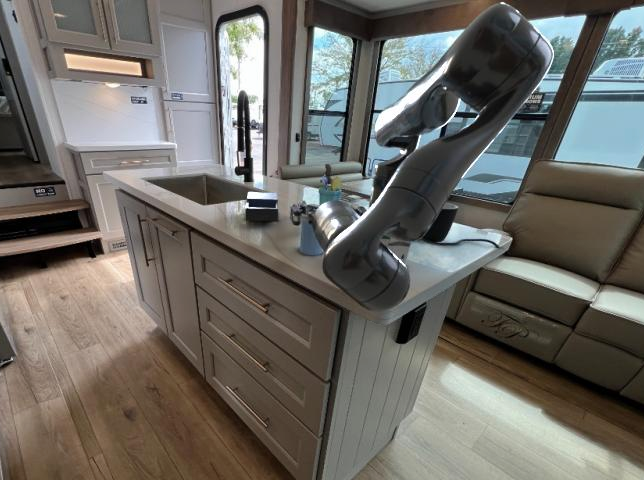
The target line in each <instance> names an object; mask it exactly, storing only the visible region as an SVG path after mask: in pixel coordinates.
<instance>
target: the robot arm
mask: <svg viewBox="0 0 644 480" xmlns="http://www.w3.org/2000/svg"><path fill="white" fill-rule="evenodd" d="M553 60H554V49H553V46H552V45H551V43H550V42H549V40H548V39H546V37H545V36H544V35H543V34H542V33H541V32H540V31H539V30H538V29H537V28H536V27H535V26H534V25H533V24H532V23H531V22H530V21H529V20H528V19H527V18H526V17H525V16H524V15H523V14H521V12H520V11H518V10H517V9H516V8H515V7H514V6H512V5H510V4H508V3H505V2H499V3H498V2H497V3H495V4H493V5H490V6H489V7H487V8H486V9H485V10H483V11H482V12H481V13H480V14H479V15H477V16H476V17H475V18H474V20H472V21H471V22H470V23H469V24H468V25H467V26H466V28H465V29H464V30H463V31H462V32H461V33H460V34H459V36H458V37H457V38H456V39H455V40H454V41H453V42H452V44H450V46H449V47H448V49H447V50H446V51H445V52H444V54H443V55H442V56H441V57H440V58H439V59H438V61H436V63H435V64H434V65H433V66H432V67H431V68H430V69H429V70H428V71H427V72H426V73H424V75H422V76H420V78H419V79H418V80H417V81H415V82H414V83H413V84H412V85H411V86H410V87H409V88H408V89H407V91H405V93H404V94H403V95H401V97H399V98H398V99H397V100H396V101H395V102H393V103H390V104H389V105H387V106H385V107H384V109H382V111H381V112H380V113H379V115H378V117H377V120H376V123H375V127H374V139H375V142H376V144H377V145H378V146H379V147H381V148H385V149H399V152H398V153H397V155H394V157H392V158H390V159H387V160H385V161H381V162H379V163H377V164H376V165H375V168H374V172H373V178H372V185H371V191H370V197H369V202H368V209H367V208H366V207H365V206H363V205H360V206H357V208H356V207H355V205H353V204H350V203H348V202H347V201H342V200H339V201H338V200H332V201H328V202H326V203H324V204H322V205H321V206H319V204H315V203H310V204H307V202H306V200H301V201H300V202H298V203H297V204H295V203H291V204H290V205H289V207H290V212H289V219H290V221H291V224H292V225H293V226H296V227H298V226H300V225H301V223H302V221H306V222H307V223H309V224H310V225H312V228H313V231H314V233H315V236H316V239H317V240H318V242H319V245H320V246H321V248H322V249H323V250H322V251H323V252H324V253H323V256H322V262H321V264H322V266H321V267H322V272H323V275H324V276H325V277H326V279H327V280H328V281H330V282H331V283H332V284H333V285H334V286H336V287H337V288H338V289H339V290H341V292H343V293H344V294H345V295H346V296H348V297H349V298H350V299H352V300H353V301H354V302H355V303H357V305H359V306H361V307H362V308H364V309H365V310H368V311H370V312H375V313H383V312H387V311H391V310H393V309H394V308H396V307H398V306H399V305H401V303H402V302H403V301H404V300H405V299H406V297H407V296H408V293H409V291H410V286H411V275H410V271H409V268H408V267H407V264H406V265H405V264H404V263H403V262H402V261H401V260H400V259H399V258H398V257H397V256H395V254H393V253H392V252H391V251H390V250H389V249H388V248H387V247H386V246H385V245H384V244H383V243H382V242H381V241H380V240H381V237H382V236H383V234H386V235H387V236H389V237H391V238H393V239H396V240H398V241H402V242H411V243H414V242H417V241H419V240H421V241H423V242H425V243H428V244H432V245H437V246H456V245H459V244H460V243H462V242H485V243H489V244H491V245H493V246H494V247H495V248H496V249H500V246H499V244H498V243H496V242H495V241H493V240H490V239H486V238H463V239H462V238H461V239H459V240H457V241H455V242H454V241H453V242H431V241H428V240H426V239H424V238H423V236H424V235H425V234H426V233H427V231H428V230H429V228H430V227H431V225H432V224H433V222H434V220H435V219H436V217H437V216H438V214H439V213H440V211H441V209H442V208H443V206H444V205H445V203H447V202H448V200H449V199H450V197H451V195H452V194H453V192H454V190H455V189H456V187H457V186H458V184H459V183H460V182H461V180H462V179H463V177H464V176H465V175H466V174H467V172H468V171H469V170H470V168H471V167H473V165H474V164H475V162H476V161H477V160H478V159H479V158H480V156H481V155H482V154H483V153H484V152H485V151H486V150H487V149H488V148H489V146H490V145H491V144H492V143H493V142H494V140H495V139H496V138H497V137H498V136H499V134H500V133H502V131H503V130H504V128H505V127H506V126H507V125H508V124H509V122H510V121H511V120H512V119H513V117H514V116H515V115H516V114H517V113H518V112H519V110H520V109H521V108H522V107H523V105H525V103H526V102H527V101H528V100H529V98H530V97H531V96H532V94H533V93H534V92H535V91H536V89H537V88H538V87H539V85H540V84H541V83H542V81H543V79H544V78H545V76H546V75H547V73H548V72H549V70H550V68H551V65H552V63H553ZM460 102H463V103H464V104H465V105H466V106H467V107H468V108H470V110H472V111H473V112H474V113H476V114H477V116H476V118H475V119H474V120H473V121H472V122H471V123H469V124H468V125H466V126H464V127H461V128H460V129H458V130H455V131H453V132H451V133H448V134H446V135H443V136H441V137H438V138H435V139H433V140H430V141H428V142H426V143H424V144H422V145H421V146H420V147H418V146H419V143H420V138H421V136H424V135H429V134H430V133H432V132H434V131H436V130H438V129H441V128H442V127H444V126H445V125H447V123H449V122H450V121H451V119H452V118H454V116H455V114H456V112H457V110H458V108H459V106H460ZM306 210H307V213H306Z"/></svg>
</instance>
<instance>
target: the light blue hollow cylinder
mask: <svg viewBox="0 0 644 480" xmlns="http://www.w3.org/2000/svg"><path fill="white" fill-rule="evenodd" d="M306 213H307V210H306ZM300 225H301V226H300V237H299V239H300V241H299V252H300V253H301V254H303V255H307V256H318V255H322V253H323V251H324V250H323V249H322V248H321V246H320V245H319V242H318V240H317V239H316V236H315V233H314V231H313V228H312V225H310V224H309V223H307V222H306V221H302V223H300Z"/></svg>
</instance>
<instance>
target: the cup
mask: <svg viewBox="0 0 644 480" xmlns="http://www.w3.org/2000/svg"><path fill="white" fill-rule="evenodd" d="M319 182H320V184H321V183H323V182H324V186H321V187H318V194H319V195H318V196H319V197H318V198H319V199H318V201H319V202H318V205H319V206H321V205H322V204H324V203H326V202H328V201H332V200H338V201H340V196H341V195H342V185H343V182H342V178H341V177H339V176H335V177H333V178H332V179H331V183H330V186H329V184H328V177H327V176H324V177H322V178H321V179H320V180H319Z"/></svg>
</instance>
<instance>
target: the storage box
mask: <svg viewBox="0 0 644 480" xmlns="http://www.w3.org/2000/svg"><path fill="white" fill-rule="evenodd" d="M278 197H279V195H278V193H277V192H260V191H259V192H255V191H248V192H247V196H246V204H245V221H250V222H251V221H253V222H256V221H257V222H278V221H279V198H278Z"/></svg>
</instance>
